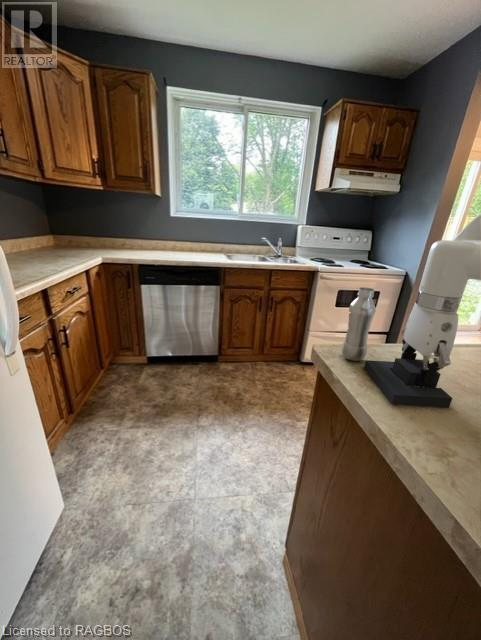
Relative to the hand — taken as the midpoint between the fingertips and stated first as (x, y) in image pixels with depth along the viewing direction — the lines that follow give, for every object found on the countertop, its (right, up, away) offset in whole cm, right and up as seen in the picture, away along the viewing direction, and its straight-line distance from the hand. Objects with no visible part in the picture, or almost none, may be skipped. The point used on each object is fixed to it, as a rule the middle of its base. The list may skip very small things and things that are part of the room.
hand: (414, 374), depth 63 cm
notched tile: (-2, -3, +1) cm, 4 cm away
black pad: (0, -1, 0) cm, 1 cm away
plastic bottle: (-9, +2, +13) cm, 16 cm away
